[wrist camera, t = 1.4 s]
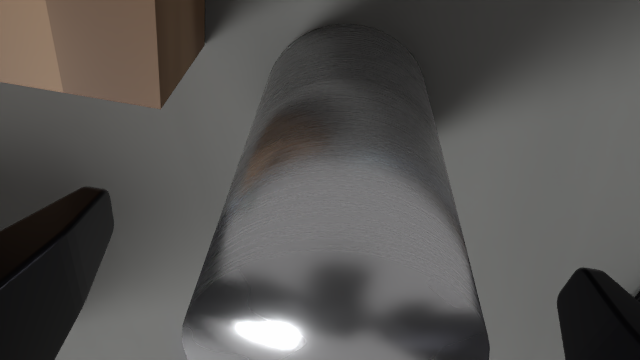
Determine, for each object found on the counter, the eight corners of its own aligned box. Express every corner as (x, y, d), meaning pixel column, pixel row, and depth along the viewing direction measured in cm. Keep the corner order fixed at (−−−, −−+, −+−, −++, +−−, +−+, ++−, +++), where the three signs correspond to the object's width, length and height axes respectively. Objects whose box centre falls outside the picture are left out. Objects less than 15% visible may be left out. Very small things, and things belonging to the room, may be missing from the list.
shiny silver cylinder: (447, 41, 12) (546, 284, 6) (402, 178, 15) (433, 446, 8) (274, 9, 12) (177, 226, 6) (259, 154, 15) (184, 410, 8)
